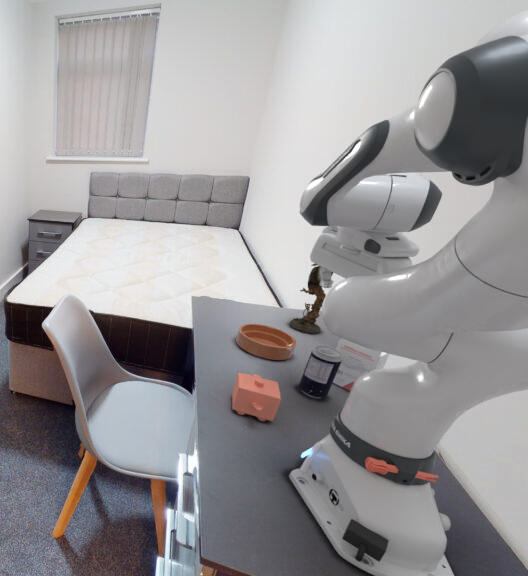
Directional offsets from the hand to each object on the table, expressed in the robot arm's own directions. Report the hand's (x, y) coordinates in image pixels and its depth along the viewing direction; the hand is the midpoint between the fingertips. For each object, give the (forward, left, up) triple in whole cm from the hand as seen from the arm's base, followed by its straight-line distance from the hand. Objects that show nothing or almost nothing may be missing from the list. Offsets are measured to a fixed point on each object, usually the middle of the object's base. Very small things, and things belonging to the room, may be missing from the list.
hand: (340, 295), depth 82 cm
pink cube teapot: (-13, +14, -26) cm, 33 cm away
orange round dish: (+20, +4, -26) cm, 33 cm away
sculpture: (+39, -12, -26) cm, 48 cm away
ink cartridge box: (+7, -12, -26) cm, 30 cm away
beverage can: (0, -2, -26) cm, 26 cm away
